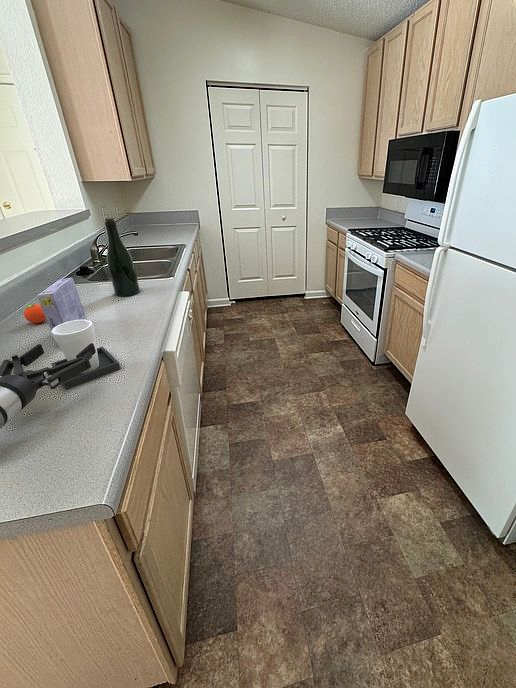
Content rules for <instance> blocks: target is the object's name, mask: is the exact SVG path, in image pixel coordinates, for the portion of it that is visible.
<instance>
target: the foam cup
mask: <svg viewBox="0 0 516 688" xmlns="http://www.w3.org/2000/svg"><path fill="white" fill-rule="evenodd" d="M50 331H51V330H50ZM95 331H96V329H95V326H94V323H93V322H92V320H90V319H87V320H84V319H82V320H73V321H69V322H65V323H62V324H60V325H58V326H56V327H54V328H53V329H52V331H51V332H50V333H51V334H52V337H53V339H54V341H55V343H56V342H57V343H58V345H57V346H58V347H59V349H60V350H61V351H62V354H63V355H64V357H65V359H67V360H68V361H70V360H73V359H75V358H76V356H77V355H78V354H79V353H80V352H81V351H82V350H83V349H84V348H86V347H87V346H88V345H89V344H90V343H93V344H94V347H95V350H96V353H95V354H94V355H93V356H92V358H91V359H90V360H89V361H90V364H91V368H89V369H88V370H86V371H84V372H82V373H87V372H90V371H93V370H94V369H96V368H97V367H98V366H99V360H98V353H97V348H98V346H97V341H96V334H95ZM80 374H81V373H80Z"/></svg>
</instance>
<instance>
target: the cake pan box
mask: <svg viewBox="0 0 516 688" xmlns="http://www.w3.org/2000/svg"><path fill="white" fill-rule="evenodd" d="M36 298H37V301H38V302H39V305H41V307H42V310H43V312H44V314H45V317H46V319H45V320H46V321H47V325H48V326H49V329H50V331H52V329H53V328H54V327H56V326H58V325H60V324H62V323H65V322H69V321H73V320H82V319H84V320H88V317H87V314H86V312H85V308H84V306H83V304H82V301H81V298H80V295H79V292H78V289H77V285H76V283H75V280H74V278H73V277H67V278H61V279H58V280H57V281H55V282H54V283H53V284H51V285H50V286H48V287H46V288H45V289H44V290H43V291H41V292H40V293H39V294H37V295H36ZM55 344H56V345H57V346H59V345H58V343H57V342H56V341H55Z"/></svg>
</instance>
